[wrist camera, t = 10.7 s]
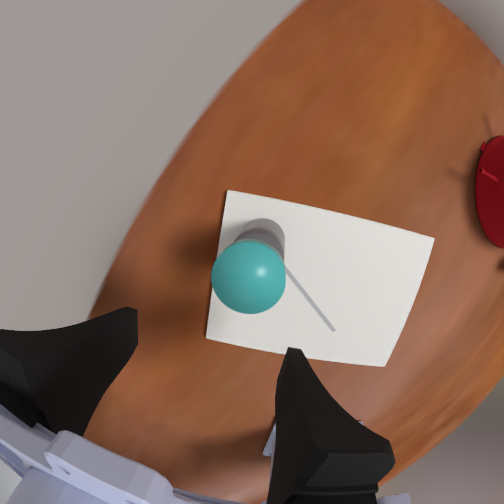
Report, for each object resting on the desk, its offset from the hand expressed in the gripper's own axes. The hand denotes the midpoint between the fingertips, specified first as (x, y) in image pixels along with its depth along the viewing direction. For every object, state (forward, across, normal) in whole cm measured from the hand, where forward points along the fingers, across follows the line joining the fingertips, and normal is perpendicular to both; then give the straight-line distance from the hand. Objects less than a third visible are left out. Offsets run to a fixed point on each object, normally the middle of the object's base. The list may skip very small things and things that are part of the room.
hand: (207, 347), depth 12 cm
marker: (+9, -1, -3) cm, 10 cm away
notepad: (+9, -6, 0) cm, 11 cm away
